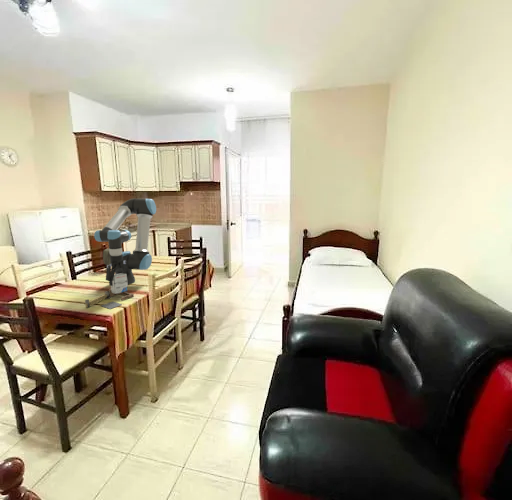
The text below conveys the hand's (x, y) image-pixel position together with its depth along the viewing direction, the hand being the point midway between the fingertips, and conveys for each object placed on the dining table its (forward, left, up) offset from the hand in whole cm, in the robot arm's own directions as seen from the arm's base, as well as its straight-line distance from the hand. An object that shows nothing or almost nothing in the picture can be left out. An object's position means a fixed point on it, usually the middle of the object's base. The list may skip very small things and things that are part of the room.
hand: (119, 287), depth 199 cm
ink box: (0, 0, -3) cm, 3 cm away
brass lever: (+13, -3, -6) cm, 15 cm away
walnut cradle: (+1, 0, -6) cm, 7 cm away
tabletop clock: (-41, -65, -7) cm, 77 cm away
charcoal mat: (+12, +8, -6) cm, 16 cm away
